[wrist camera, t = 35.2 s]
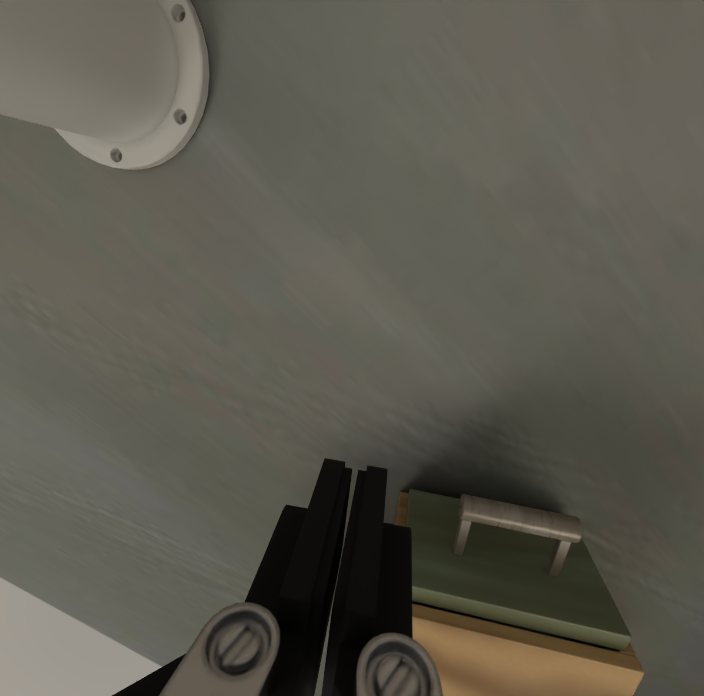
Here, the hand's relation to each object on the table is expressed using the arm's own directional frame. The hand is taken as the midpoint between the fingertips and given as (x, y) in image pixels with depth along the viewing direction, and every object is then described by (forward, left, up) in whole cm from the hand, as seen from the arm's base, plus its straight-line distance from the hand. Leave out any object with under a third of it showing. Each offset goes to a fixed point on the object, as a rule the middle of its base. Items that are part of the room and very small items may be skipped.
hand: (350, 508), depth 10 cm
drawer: (+18, +10, -19) cm, 28 cm away
